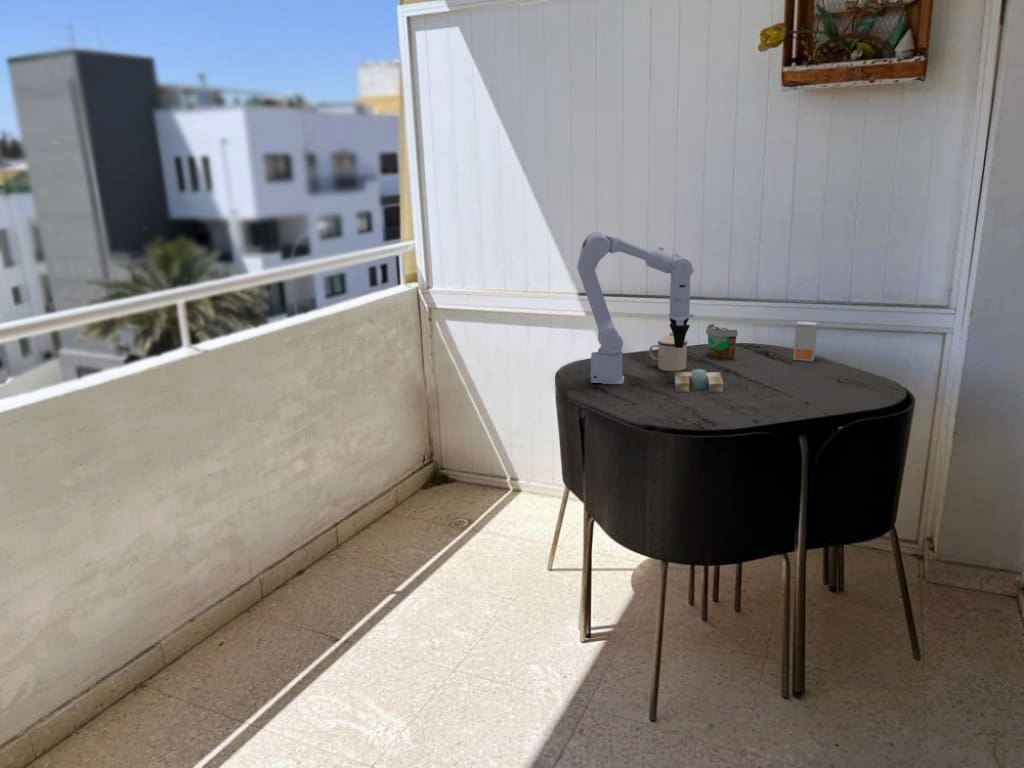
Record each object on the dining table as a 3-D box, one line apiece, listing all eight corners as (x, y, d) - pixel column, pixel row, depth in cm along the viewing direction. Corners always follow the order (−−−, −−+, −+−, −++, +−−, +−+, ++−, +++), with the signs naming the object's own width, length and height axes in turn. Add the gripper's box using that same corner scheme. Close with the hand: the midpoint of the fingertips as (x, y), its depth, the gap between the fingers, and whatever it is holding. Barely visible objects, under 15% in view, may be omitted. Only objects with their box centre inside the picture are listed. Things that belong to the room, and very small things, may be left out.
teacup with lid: (689, 365, 231) (690, 329, 228) (682, 372, 223) (683, 336, 220) (653, 362, 236) (653, 327, 233) (645, 369, 229) (645, 333, 225)
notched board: (675, 391, 205) (675, 383, 204) (674, 379, 216) (674, 371, 216) (723, 392, 202) (723, 383, 202) (719, 380, 214) (720, 372, 213)
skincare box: (792, 360, 232) (795, 323, 229) (795, 357, 236) (797, 320, 232) (813, 361, 229) (816, 324, 226) (815, 358, 233) (818, 322, 229)
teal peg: (691, 389, 206) (692, 372, 205) (690, 385, 210) (691, 369, 209) (705, 389, 206) (706, 372, 204) (705, 385, 209) (705, 369, 208)
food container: (697, 354, 244) (698, 325, 241) (711, 352, 246) (712, 323, 244) (721, 362, 233) (723, 332, 230) (736, 359, 236) (738, 329, 233)
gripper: (695, 303, 204) (693, 350, 207) (692, 294, 217) (691, 339, 221) (669, 303, 205) (668, 350, 209) (668, 295, 219) (668, 339, 222)
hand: (678, 344), depth 215 cm, fingers open, 7 cm apart
